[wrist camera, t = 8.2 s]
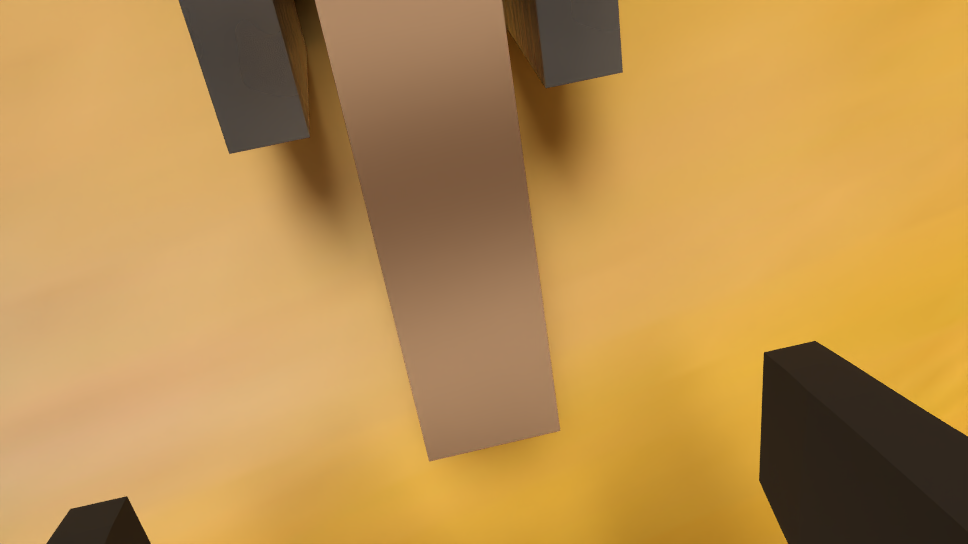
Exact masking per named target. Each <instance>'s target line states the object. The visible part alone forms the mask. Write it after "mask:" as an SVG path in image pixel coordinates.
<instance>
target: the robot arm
mask: <svg viewBox="0 0 968 544" xmlns="http://www.w3.org/2000/svg"><path fill="white" fill-rule="evenodd" d="M759 481H760V483H761V485H762V488H763V490H764V492H765V494H766V496H767V499H768V501H769V503H770V505H771V508H772V510H773V512H774V514H775V516H776V519H777V521H778V523H779V525H780V527H781V529H782V531H783V534H784V536H785V538H786V540H787V542H788V544H968V436H966V435H964V434H963V433H961V432H959V431H958V430H956V429H954V428H953V427H951V426H950V425H948V424H946V423H945V422H943V421H941V420H940V419H938V418H937V417H935V416H933V415H932V414H930V413H929V412H927V411H925V410H924V409H922V408H921V407H919V406H917V405H916V404H914V403H913V402H911V401H909V400H908V399H906V398H905V397H903V396H902V395H900V394H898V393H897V392H895V391H894V390H892V389H890V388H889V387H887V386H886V385H884V384H883V383H881V382H880V381H878V380H876V379H875V378H873V377H872V376H870V375H869V374H867V373H865V372H864V371H862V370H861V369H859V368H858V367H856V366H855V365H853V364H851V363H850V362H848V361H847V360H845V359H844V358H842V357H840V356H839V355H837V354H836V353H834V352H832V351H831V350H829V349H828V348H826V347H824V346H823V345H821V344H819V343H818V342H816V341H813V342H808V343H804V344H800V345H795V346H791V347H786V348H782V349H777V350H773V351H769V352H764V365H763V392H762V419H761V446H760V473H759ZM47 544H151V543H150V541H149V539H148V537H147V535H146V533H145V531H144V529H143V527H142V525H141V523H140V521H139V519H138V517H137V515H136V513H135V511H134V509H133V507H132V505H131V503H130V501H129V499H128V497H127V496H126V497H122V498H118V499H113V500H109V501H104V502H100V503H95V504H91V505H87V506H82V507H78V508H73V509H70V510H69V512H68V513H67V515H66V516H65V518H64V519H63V520H62V522H61V523H60V525H59V526H58V528H57V529H56V531H55V532H54V533H53V535H52V536H51V538H50V539H49V541H48V542H47Z"/></svg>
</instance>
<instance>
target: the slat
mask: <svg viewBox="0 0 968 544" xmlns="http://www.w3.org/2000/svg"><path fill="white" fill-rule="evenodd" d="M315 3H316V7H317V11H318V15H319V19H320V23H321V27H322V31H323V35H324V39H325V43H326V47H327V51H328V55H329V59H330V64H331V68H332V72H333V76H334V80H335V84H336V88H337V92H338V96H339V100H340V104H341V108H342V112H343V116H344V120H345V124H346V128H347V132H348V136H349V140H350V144H351V148H352V152H353V156H354V160H355V164H356V168H357V172H358V176H359V180H360V184H361V188H362V192H363V196H364V200H365V204H366V208H367V213H368V217H369V221H370V225H371V229H372V233H373V237H374V241H375V245H376V249H377V253H378V257H379V261H380V265H381V269H382V273H383V277H384V281H385V285H386V289H387V293H388V297H389V301H390V305H391V309H392V313H393V317H394V321H395V325H396V329H397V333H398V337H399V341H400V345H401V349H402V353H403V358H404V362H405V366H406V370H407V374H408V378H409V382H410V386H411V390H412V394H413V398H414V402H415V406H416V410H417V414H418V418H419V422H420V426H421V430H422V434H423V438H424V442H425V446H426V450H427V454H428V458H429V461H433V460H438V459H442V458H446V457H451V456H455V455H459V454H463V453H468V452H472V451H476V450H480V449H485V448H489V447H493V446H497V445H502V444H506V443H510V442H514V441H519V440H523V439H527V438H531V437H536V436H540V435H544V434H549V433H553V432H557V431H560V426H559V418H558V411H557V403H556V396H555V389H554V381H553V374H552V366H551V359H550V352H549V344H548V337H547V329H546V322H545V315H544V307H543V300H542V293H541V285H540V278H539V270H538V263H537V256H536V248H535V241H534V233H533V226H532V219H531V211H530V204H529V196H528V189H527V182H526V174H525V167H524V159H523V152H522V145H521V137H520V130H519V122H518V115H517V108H516V100H515V93H514V85H513V78H512V71H511V63H510V56H509V48H508V41H507V34H506V26H505V19H504V12H503V4H502V0H315Z"/></svg>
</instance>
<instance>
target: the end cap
mask: <svg viewBox="0 0 968 544" xmlns="http://www.w3.org/2000/svg"><path fill="white" fill-rule="evenodd" d="M179 3H180V6H181V9H182V12H183V15H184V18H185V21H186V24H187V27H188V30H189V33H190V36H191V39H192V42H193V45H194V48H195V51H196V54H197V57H198V60H199V63H200V66H201V69H202V72H203V75H204V79H205V82H206V85H207V88H208V91H209V94H210V97H211V100H212V103H213V106H214V109H215V112H216V115H217V118H218V121H219V124H220V127H221V130H222V133H223V136H224V139H225V142H226V145H227V148H228V151H229V154H231V153H236V152H241V151H246V150H250V149H255V148H260V147H265V146H270V145H275V144H279V143H284V142H289V141H294V140H299V139H303V138H308V137H310V126H309V98H308V71H307V50H306V46H305V42H304V38H303V34H302V30H301V27H300V23H299V19H298V15H297V11H296V7H295V4H294V0H179ZM502 4H503V12H504V19H505V26H506V28H507V29H508V31H509V32H510V34H511V35H512V37H513V38H514V40H515V41H516V43H517V45H518V46H519V48H520V49H521V51H522V52H523V54H524V55H525V57H526V58H527V60H528V62H529V63H530V65H531V66H532V68H533V69H534V71H535V72H536V74H537V75H538V77H539V78H540V80H541V82H542V83H543V85H544V86H545V88H549V87H554V86H559V85H564V84H569V83H573V82H578V81H583V80H588V79H593V78H598V77H602V76H607V75H612V74H617V73H622V72H623V71H622V55H621V40H620V24H619V9H618V0H502Z"/></svg>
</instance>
